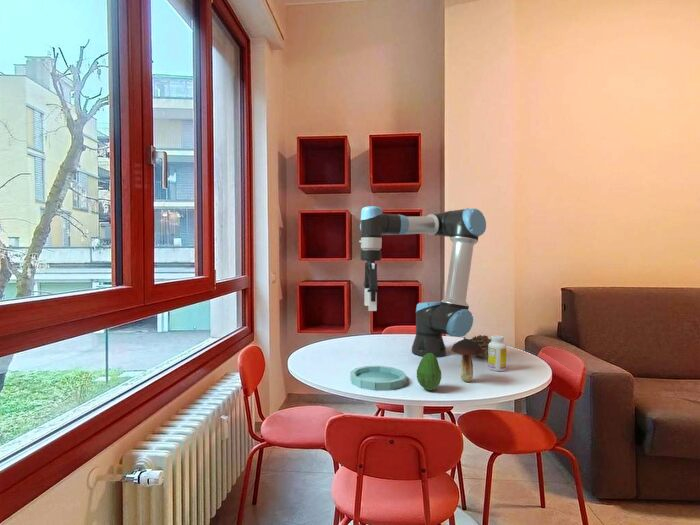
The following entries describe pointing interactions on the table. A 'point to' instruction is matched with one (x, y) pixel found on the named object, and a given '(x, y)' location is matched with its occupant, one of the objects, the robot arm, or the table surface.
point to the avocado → (429, 372)
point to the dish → (378, 377)
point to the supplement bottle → (497, 354)
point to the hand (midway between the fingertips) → (370, 308)
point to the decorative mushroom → (466, 356)
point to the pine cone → (482, 344)
